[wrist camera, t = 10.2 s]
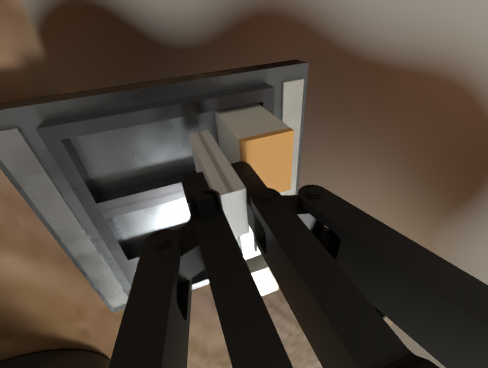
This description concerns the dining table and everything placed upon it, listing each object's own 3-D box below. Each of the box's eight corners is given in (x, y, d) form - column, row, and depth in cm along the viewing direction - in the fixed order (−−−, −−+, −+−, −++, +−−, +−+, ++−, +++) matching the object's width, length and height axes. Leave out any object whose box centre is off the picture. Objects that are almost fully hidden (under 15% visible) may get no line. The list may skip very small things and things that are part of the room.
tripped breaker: (221, 160, 19) (246, 202, 15) (214, 109, 16) (241, 142, 12) (257, 152, 20) (290, 189, 15) (255, 101, 17) (294, 130, 13)
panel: (113, 299, 25) (108, 369, 20) (-26, 107, 13) (-120, 163, 8) (287, 239, 30) (317, 284, 25) (297, 59, 18) (359, 77, 13)
